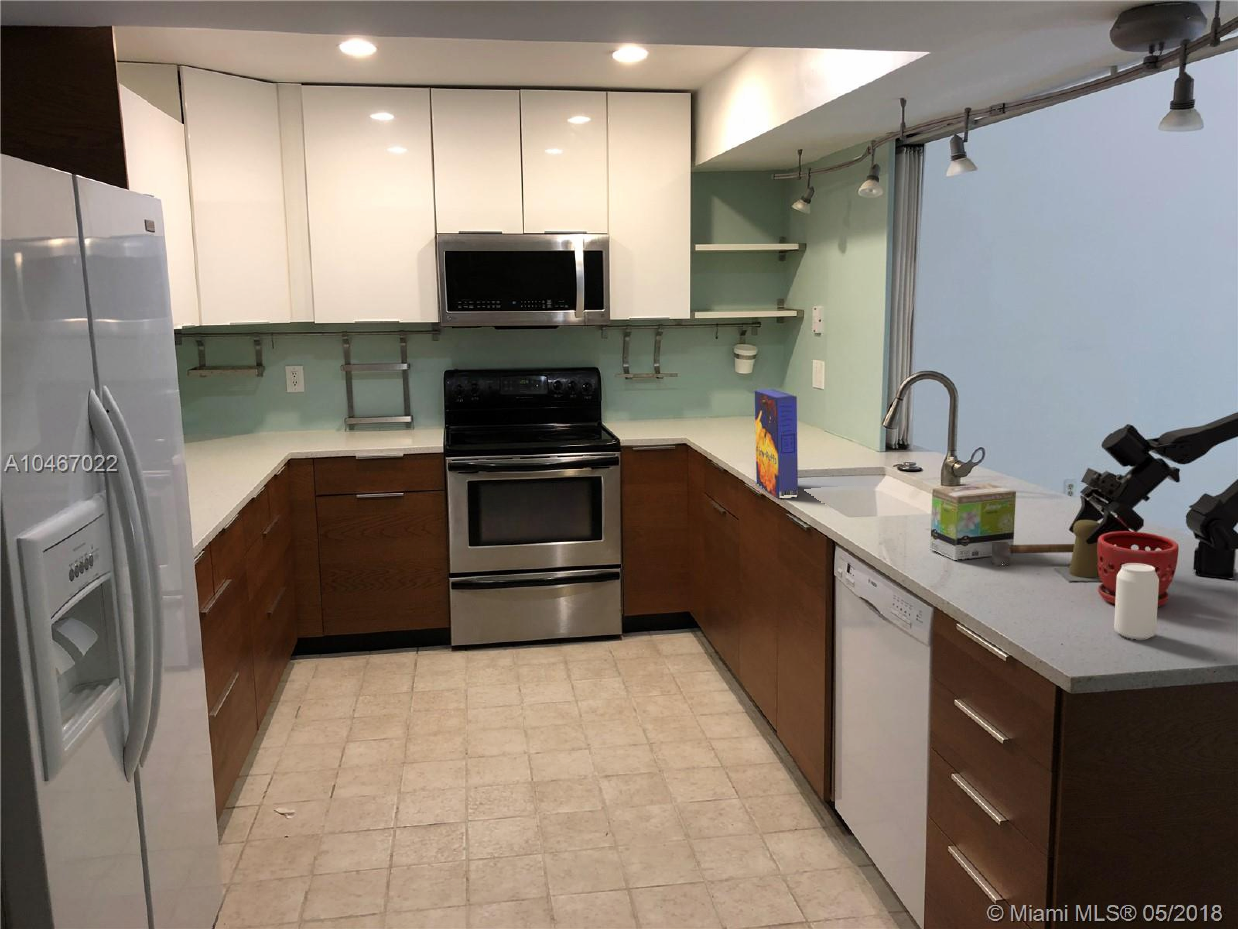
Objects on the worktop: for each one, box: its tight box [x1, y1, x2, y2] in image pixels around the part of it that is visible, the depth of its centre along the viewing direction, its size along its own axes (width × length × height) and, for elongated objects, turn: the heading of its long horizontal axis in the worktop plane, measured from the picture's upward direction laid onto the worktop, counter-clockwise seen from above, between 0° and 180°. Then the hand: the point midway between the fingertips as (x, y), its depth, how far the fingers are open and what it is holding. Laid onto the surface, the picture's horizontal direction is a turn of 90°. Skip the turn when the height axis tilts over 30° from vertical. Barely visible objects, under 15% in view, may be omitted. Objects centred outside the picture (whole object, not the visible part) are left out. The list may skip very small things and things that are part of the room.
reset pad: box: [1053, 566, 1103, 583], centre depth 192 cm, size 9×9×1 cm
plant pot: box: [1097, 530, 1180, 608], centre depth 174 cm, size 13×13×12 cm
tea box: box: [929, 483, 1017, 560], centre depth 210 cm, size 15×10×15 cm, turn 105°
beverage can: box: [1113, 563, 1159, 641], centre depth 158 cm, size 6×6×12 cm
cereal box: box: [754, 388, 799, 500], centre depth 282 cm, size 22×6×30 cm, turn 8°
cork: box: [1069, 520, 1100, 578], centre depth 191 cm, size 6×6×11 cm
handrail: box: [991, 542, 1103, 566], centre depth 201 cm, size 22×3×4 cm, turn 83°
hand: (1078, 537), depth 190 cm, fingers open, 9 cm apart
